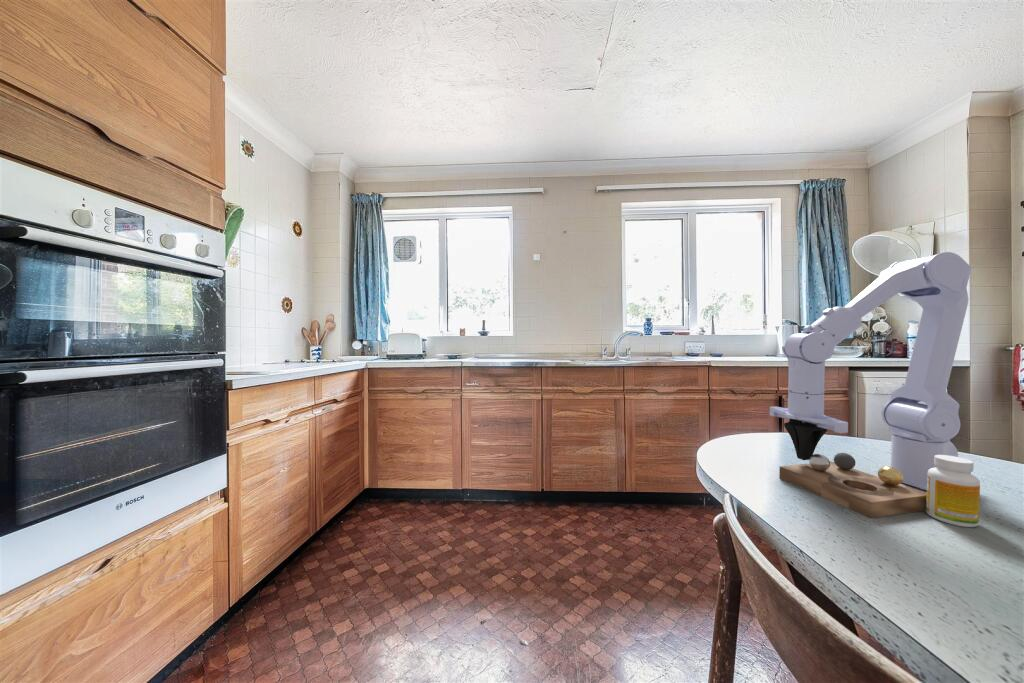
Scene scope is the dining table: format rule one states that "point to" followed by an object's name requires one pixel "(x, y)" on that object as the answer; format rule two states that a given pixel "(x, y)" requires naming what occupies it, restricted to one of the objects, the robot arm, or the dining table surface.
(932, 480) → the supplement bottle
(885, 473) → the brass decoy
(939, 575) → the dining table surface
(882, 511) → the brown wooden hole board
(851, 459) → the gray ball
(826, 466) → the steel ball
